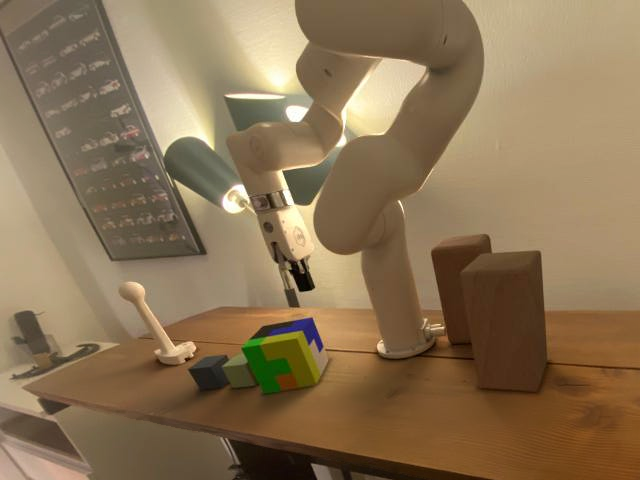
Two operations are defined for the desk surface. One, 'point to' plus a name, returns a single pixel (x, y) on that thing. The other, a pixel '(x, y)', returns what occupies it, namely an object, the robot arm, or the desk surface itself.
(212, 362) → the slate blue block
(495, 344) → the wooden block
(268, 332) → the puzzle toy
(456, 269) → the block
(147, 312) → the joystick
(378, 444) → the desk surface
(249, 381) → the sage green block
